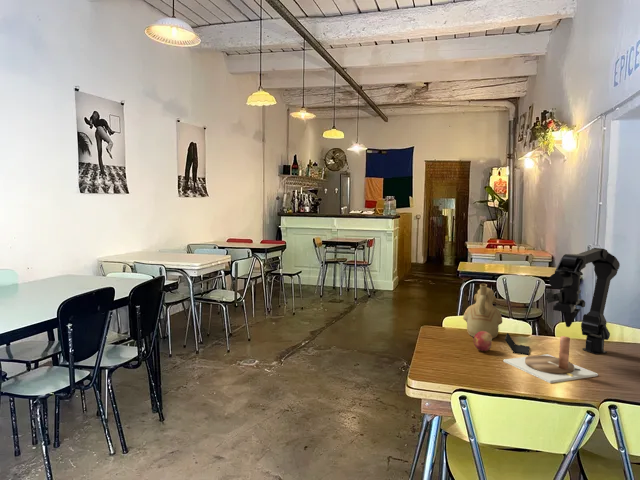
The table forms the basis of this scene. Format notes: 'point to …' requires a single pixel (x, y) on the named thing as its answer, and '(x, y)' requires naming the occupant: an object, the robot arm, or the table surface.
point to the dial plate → (550, 377)
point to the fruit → (483, 341)
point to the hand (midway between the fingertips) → (567, 326)
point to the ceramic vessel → (483, 313)
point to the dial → (553, 360)
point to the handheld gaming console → (517, 346)
